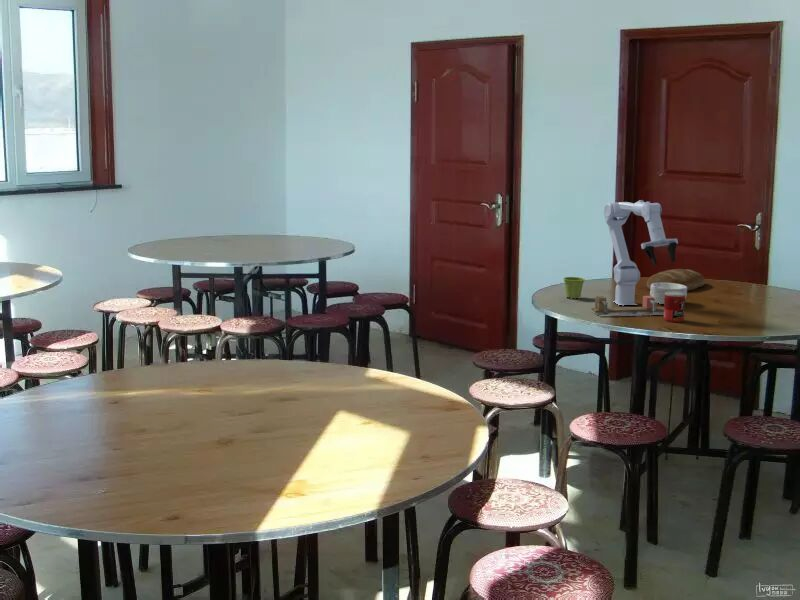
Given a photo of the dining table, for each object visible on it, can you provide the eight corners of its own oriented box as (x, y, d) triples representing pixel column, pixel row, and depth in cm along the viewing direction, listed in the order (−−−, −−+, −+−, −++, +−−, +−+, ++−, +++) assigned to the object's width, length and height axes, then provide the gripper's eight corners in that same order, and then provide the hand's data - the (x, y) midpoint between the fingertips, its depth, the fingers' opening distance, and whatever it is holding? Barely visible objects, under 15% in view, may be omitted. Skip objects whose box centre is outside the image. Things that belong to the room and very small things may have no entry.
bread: (715, 285, 473) (716, 268, 471) (679, 295, 446) (680, 277, 444) (672, 280, 487) (673, 263, 486) (635, 290, 460) (635, 272, 458)
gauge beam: (591, 311, 408) (592, 295, 407) (662, 310, 411) (662, 294, 410) (598, 316, 398) (599, 300, 397) (670, 315, 401) (671, 299, 400)
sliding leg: (642, 306, 410) (643, 295, 409) (649, 306, 410) (650, 295, 409) (650, 311, 400) (651, 300, 399) (658, 311, 400) (658, 300, 400)
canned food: (674, 323, 385) (676, 295, 383) (659, 319, 392) (660, 292, 390) (688, 321, 389) (689, 293, 387) (672, 317, 396) (673, 290, 394)
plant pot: (582, 296, 442) (583, 276, 441) (585, 300, 433) (586, 280, 431) (561, 296, 443) (561, 276, 441) (564, 299, 433) (564, 280, 432)
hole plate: (595, 314, 403) (595, 312, 402) (666, 312, 406) (667, 310, 405) (599, 317, 397) (599, 315, 396) (672, 315, 400) (672, 313, 400)
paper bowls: (690, 306, 419) (691, 288, 417) (654, 306, 418) (655, 288, 417) (680, 300, 434) (681, 282, 432) (645, 300, 433) (646, 282, 432)
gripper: (641, 230, 394) (649, 262, 390) (676, 225, 396) (685, 257, 392) (636, 236, 401) (644, 267, 397) (671, 231, 402) (679, 263, 399)
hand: (664, 263), depth 395 cm, fingers open, 7 cm apart
